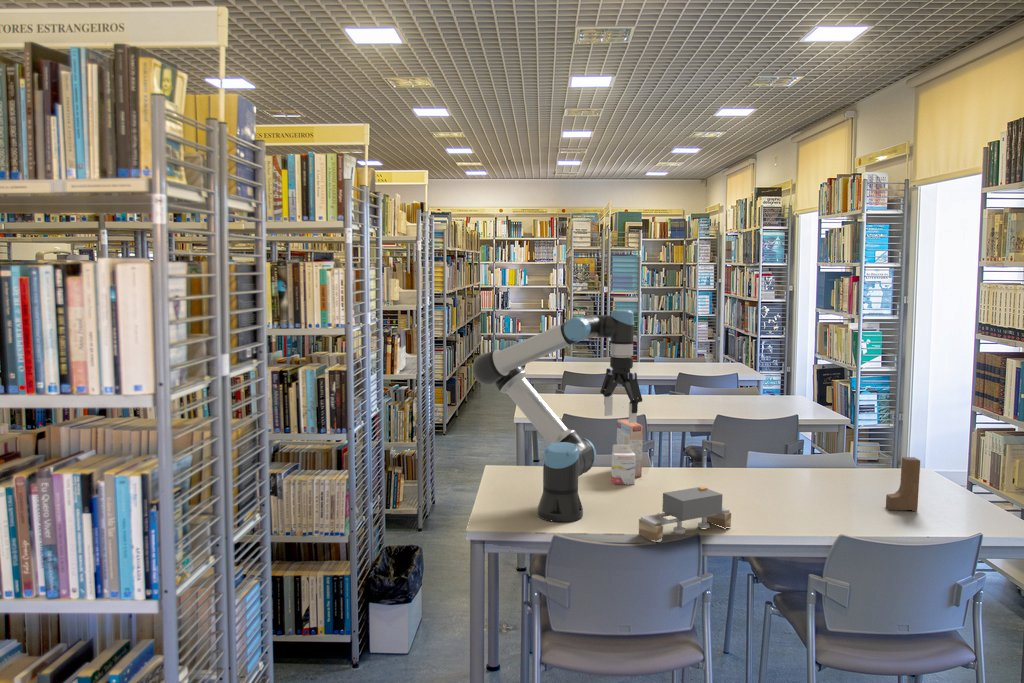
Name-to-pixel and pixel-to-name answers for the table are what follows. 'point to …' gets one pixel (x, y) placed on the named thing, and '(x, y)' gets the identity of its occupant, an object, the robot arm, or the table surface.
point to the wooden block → (906, 487)
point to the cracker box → (631, 440)
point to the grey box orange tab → (692, 505)
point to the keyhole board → (653, 523)
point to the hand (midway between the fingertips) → (620, 419)
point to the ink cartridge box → (623, 465)
